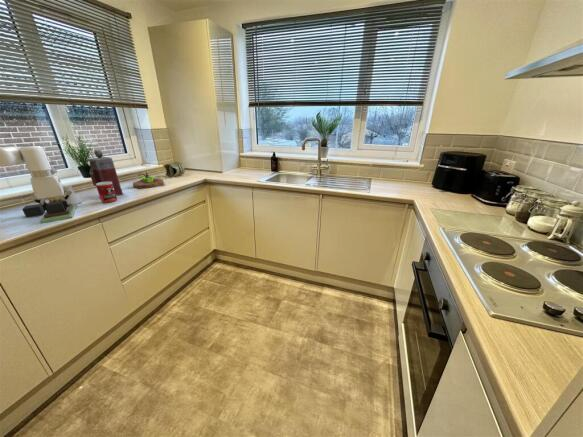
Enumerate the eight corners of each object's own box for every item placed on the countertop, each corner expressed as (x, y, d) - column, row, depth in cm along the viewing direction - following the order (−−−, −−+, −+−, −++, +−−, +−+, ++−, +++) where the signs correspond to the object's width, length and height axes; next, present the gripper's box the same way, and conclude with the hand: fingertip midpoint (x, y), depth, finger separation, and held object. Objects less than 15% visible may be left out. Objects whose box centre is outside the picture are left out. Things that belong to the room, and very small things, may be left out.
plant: (136, 190, 163) (132, 173, 159) (131, 185, 177) (127, 170, 173) (167, 184, 175) (164, 169, 171) (160, 180, 189) (157, 166, 185)
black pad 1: (26, 217, 118) (22, 209, 116) (29, 214, 123) (25, 205, 121) (42, 214, 121) (39, 206, 120) (45, 211, 126) (41, 203, 124)
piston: (165, 177, 200) (161, 163, 196) (175, 174, 210) (172, 161, 206) (176, 178, 197) (173, 164, 192) (185, 175, 207) (183, 161, 203)
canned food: (105, 204, 136) (99, 185, 131) (99, 201, 140) (92, 183, 135) (120, 200, 142) (114, 182, 137) (113, 198, 146) (108, 180, 141)
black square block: (49, 215, 115) (45, 206, 113) (51, 211, 119) (47, 203, 118) (65, 212, 118) (61, 203, 116) (67, 209, 122) (63, 200, 121)
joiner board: (41, 223, 110) (38, 218, 110) (50, 210, 127) (48, 205, 126) (72, 217, 116) (70, 212, 115) (77, 206, 133) (75, 201, 132)
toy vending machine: (96, 197, 150) (80, 151, 139) (115, 192, 159) (102, 148, 148) (103, 198, 145) (87, 151, 135) (123, 194, 154) (109, 149, 144)
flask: (63, 204, 137) (56, 187, 133) (77, 200, 143) (71, 184, 139) (70, 205, 134) (63, 188, 130) (85, 201, 140) (79, 185, 136)
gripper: (67, 170, 119) (80, 204, 126) (18, 175, 110) (35, 211, 116) (65, 172, 113) (79, 208, 120) (13, 177, 104) (31, 216, 111)
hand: (57, 209), depth 118 cm, fingers closed on black square block, 6 cm apart
